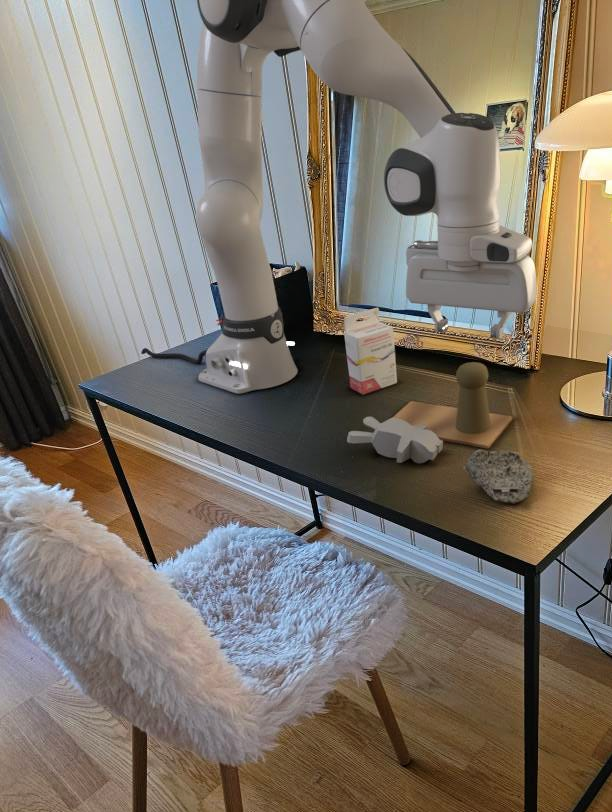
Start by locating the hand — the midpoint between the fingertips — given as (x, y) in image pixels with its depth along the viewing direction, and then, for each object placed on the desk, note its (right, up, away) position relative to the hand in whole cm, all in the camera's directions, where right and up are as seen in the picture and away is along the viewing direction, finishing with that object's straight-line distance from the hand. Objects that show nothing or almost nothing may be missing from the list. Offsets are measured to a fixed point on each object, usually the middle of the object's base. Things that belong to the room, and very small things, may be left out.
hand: (468, 334), depth 102 cm
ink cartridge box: (-14, -3, +29) cm, 33 cm away
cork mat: (-2, -13, +12) cm, 18 cm away
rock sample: (+5, -25, -7) cm, 26 cm away
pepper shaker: (+2, -13, +9) cm, 17 cm away
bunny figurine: (-11, -18, +6) cm, 22 cm away
